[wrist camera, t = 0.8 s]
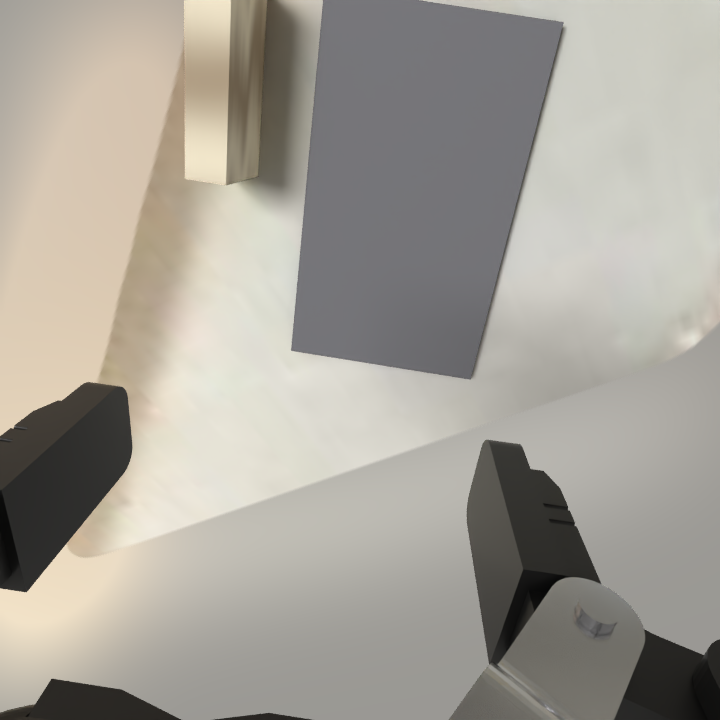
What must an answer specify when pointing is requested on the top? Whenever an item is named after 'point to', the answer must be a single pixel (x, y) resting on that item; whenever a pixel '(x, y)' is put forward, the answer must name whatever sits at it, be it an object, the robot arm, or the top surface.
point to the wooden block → (223, 88)
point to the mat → (414, 177)
